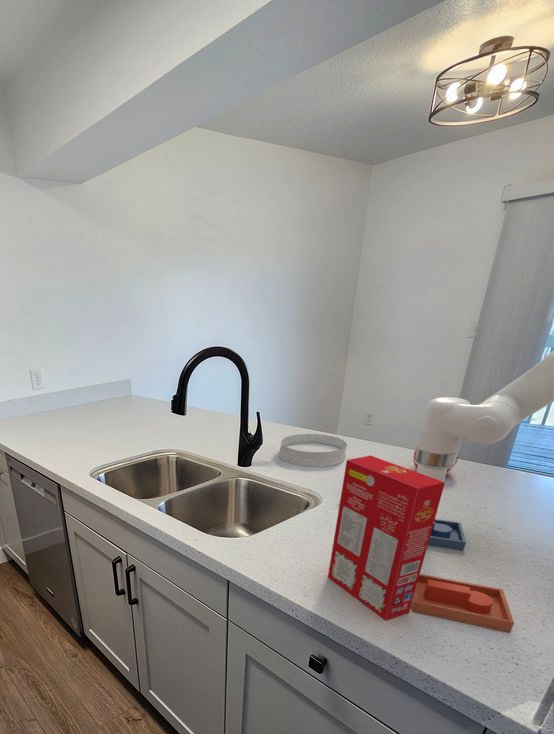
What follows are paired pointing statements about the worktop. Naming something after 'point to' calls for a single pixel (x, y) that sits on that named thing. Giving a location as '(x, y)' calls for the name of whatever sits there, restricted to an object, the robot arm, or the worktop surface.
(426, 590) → the terracotta spoon
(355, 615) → the worktop surface
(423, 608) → the terracotta tray
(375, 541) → the food packaging
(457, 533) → the slate tray
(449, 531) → the slate spoon
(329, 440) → the light grey ring
